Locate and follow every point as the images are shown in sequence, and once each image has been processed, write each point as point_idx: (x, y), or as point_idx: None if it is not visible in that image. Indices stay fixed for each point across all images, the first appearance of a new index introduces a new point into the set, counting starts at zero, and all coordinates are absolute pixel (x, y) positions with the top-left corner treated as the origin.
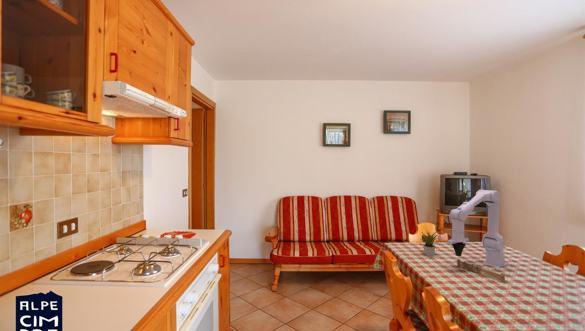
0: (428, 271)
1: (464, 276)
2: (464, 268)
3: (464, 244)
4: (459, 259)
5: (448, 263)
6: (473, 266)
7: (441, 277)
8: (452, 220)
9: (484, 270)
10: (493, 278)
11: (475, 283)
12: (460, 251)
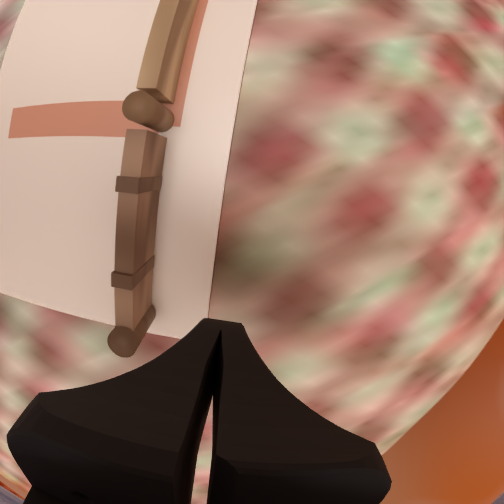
0: (419, 369)
1: (322, 173)
2: (153, 258)
3: (98, 448)
4: (112, 342)
5: None
6: (145, 168)
7: (463, 267)
8: None
9: (168, 52)
10: (194, 6)
11: (389, 65)
12: (237, 361)
